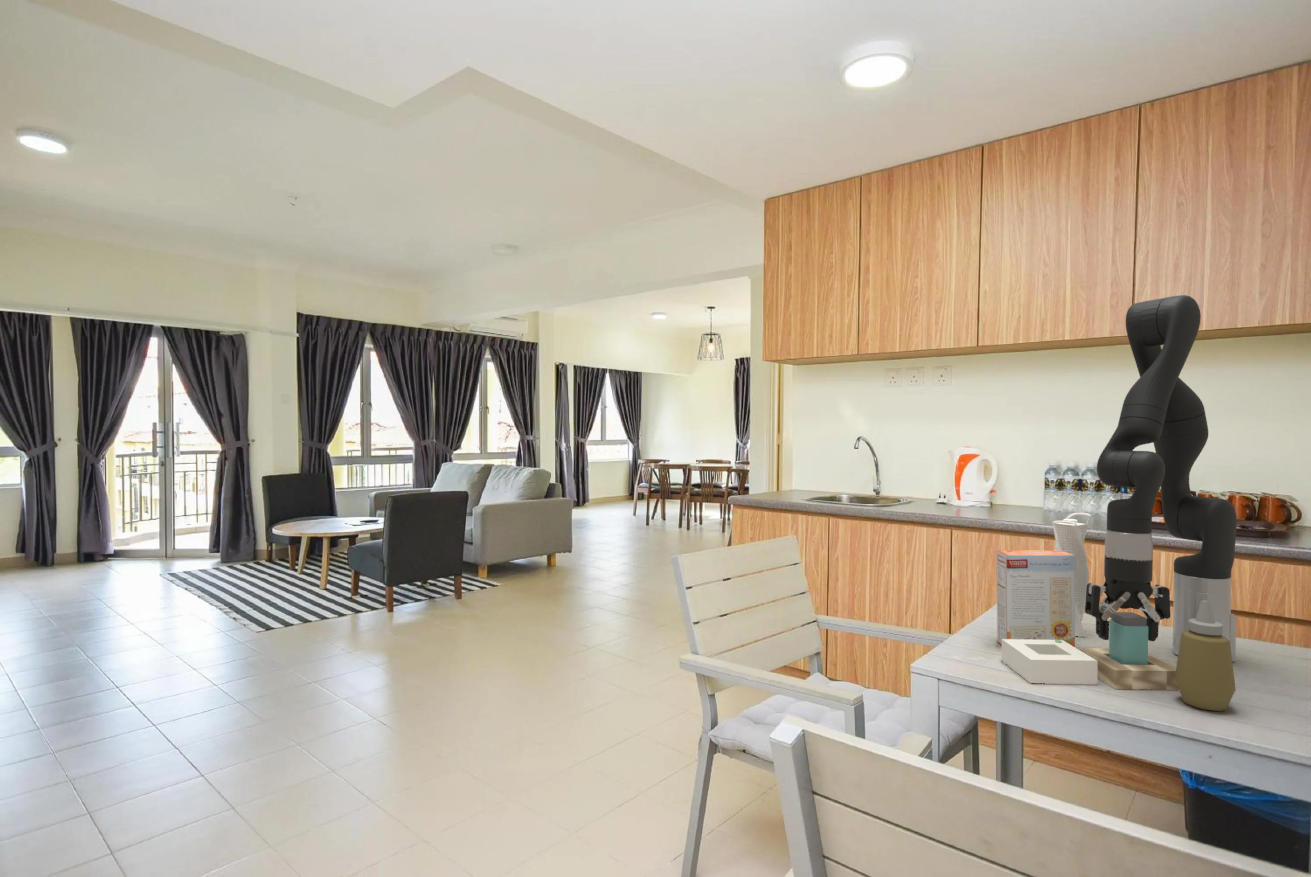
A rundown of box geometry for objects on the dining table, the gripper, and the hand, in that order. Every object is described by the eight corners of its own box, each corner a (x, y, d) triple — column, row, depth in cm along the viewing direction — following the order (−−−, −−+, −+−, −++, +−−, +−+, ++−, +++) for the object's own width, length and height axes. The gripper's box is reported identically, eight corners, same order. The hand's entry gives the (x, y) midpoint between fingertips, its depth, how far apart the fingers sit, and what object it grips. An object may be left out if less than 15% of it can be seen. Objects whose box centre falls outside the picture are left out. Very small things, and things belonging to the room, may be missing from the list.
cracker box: (1061, 643, 147) (1062, 549, 147) (1075, 652, 141) (1076, 554, 141) (995, 641, 149) (995, 548, 148) (1006, 650, 143) (1007, 553, 142)
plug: (1132, 673, 130) (1133, 612, 129) (1147, 682, 125) (1148, 618, 125) (1109, 672, 130) (1109, 611, 130) (1123, 681, 126) (1124, 618, 125)
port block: (1061, 661, 136) (1062, 638, 136) (1097, 684, 124) (1097, 659, 124) (1001, 660, 137) (1001, 637, 137) (1030, 683, 125) (1031, 658, 125)
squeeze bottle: (1162, 696, 119) (1163, 595, 118) (1204, 694, 119) (1205, 594, 119) (1203, 716, 111) (1205, 608, 110) (1248, 713, 111) (1250, 606, 111)
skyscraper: (1083, 629, 157) (1084, 511, 156) (1096, 639, 150) (1097, 515, 149) (1046, 627, 159) (1046, 510, 158) (1057, 637, 152) (1058, 514, 151)
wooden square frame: (1139, 666, 133) (1140, 648, 133) (1183, 690, 121) (1183, 671, 121) (1077, 665, 134) (1077, 648, 134) (1115, 689, 122) (1115, 670, 122)
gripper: (1153, 552, 130) (1152, 634, 131) (1078, 550, 131) (1076, 632, 132) (1181, 559, 123) (1179, 647, 123) (1101, 557, 124) (1099, 644, 124)
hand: (1126, 639), depth 127 cm, fingers open, 8 cm apart
